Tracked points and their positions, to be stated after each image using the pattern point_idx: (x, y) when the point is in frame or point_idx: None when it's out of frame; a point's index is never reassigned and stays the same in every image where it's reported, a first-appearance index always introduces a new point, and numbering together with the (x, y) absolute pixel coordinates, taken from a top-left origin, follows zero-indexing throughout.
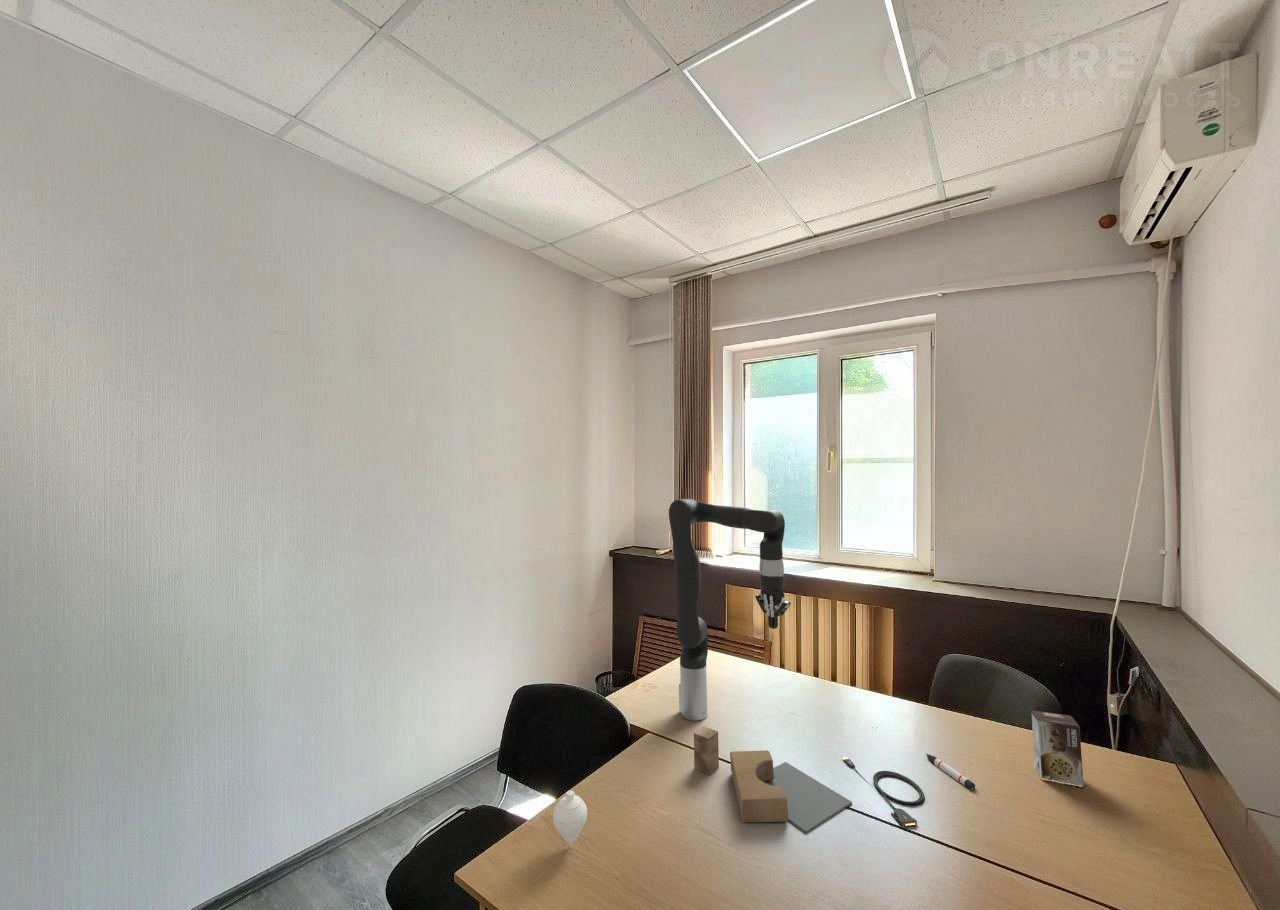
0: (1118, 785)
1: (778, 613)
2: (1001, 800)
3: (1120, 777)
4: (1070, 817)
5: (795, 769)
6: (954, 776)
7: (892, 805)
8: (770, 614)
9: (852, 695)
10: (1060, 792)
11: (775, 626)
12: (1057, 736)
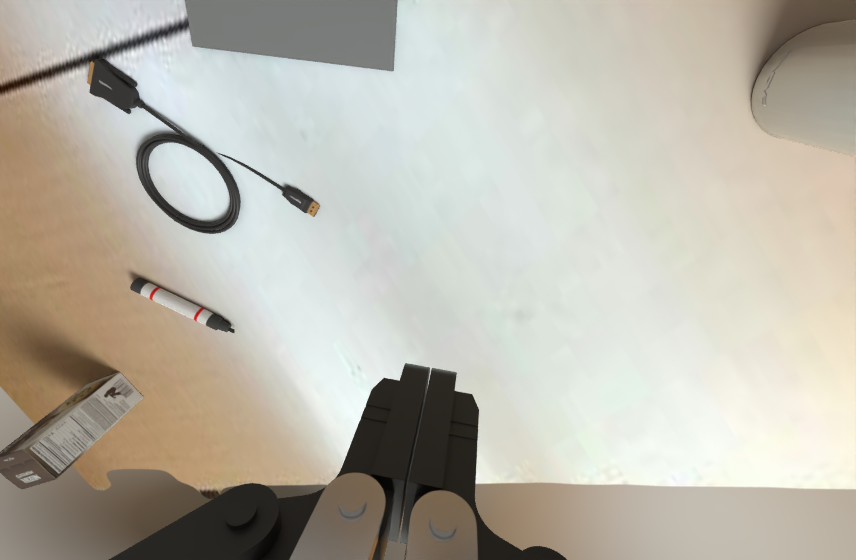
0: None
1: (178, 536)
2: (103, 281)
3: None
4: (45, 304)
5: (352, 59)
6: (166, 294)
7: (149, 111)
8: (409, 525)
9: None
10: (91, 357)
11: (376, 393)
12: (30, 434)
